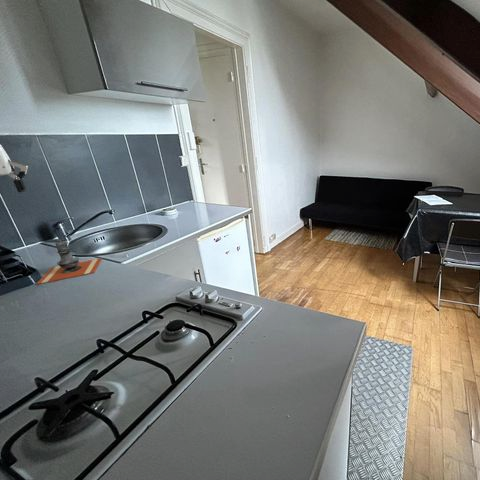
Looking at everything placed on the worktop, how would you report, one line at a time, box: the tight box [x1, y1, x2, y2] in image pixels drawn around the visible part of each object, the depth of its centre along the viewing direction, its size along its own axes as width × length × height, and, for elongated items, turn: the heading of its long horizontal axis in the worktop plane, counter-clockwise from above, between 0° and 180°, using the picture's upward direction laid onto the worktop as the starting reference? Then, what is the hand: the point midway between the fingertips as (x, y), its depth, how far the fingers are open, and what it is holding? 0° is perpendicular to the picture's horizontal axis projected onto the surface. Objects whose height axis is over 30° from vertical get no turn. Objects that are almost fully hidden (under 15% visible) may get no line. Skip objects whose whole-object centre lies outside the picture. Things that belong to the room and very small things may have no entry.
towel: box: [36, 258, 103, 286], centre depth 95 cm, size 15×14×1 cm
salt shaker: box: [55, 238, 81, 273], centre depth 92 cm, size 6×6×12 cm
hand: (1, 193), depth 87 cm, fingers open, 9 cm apart
